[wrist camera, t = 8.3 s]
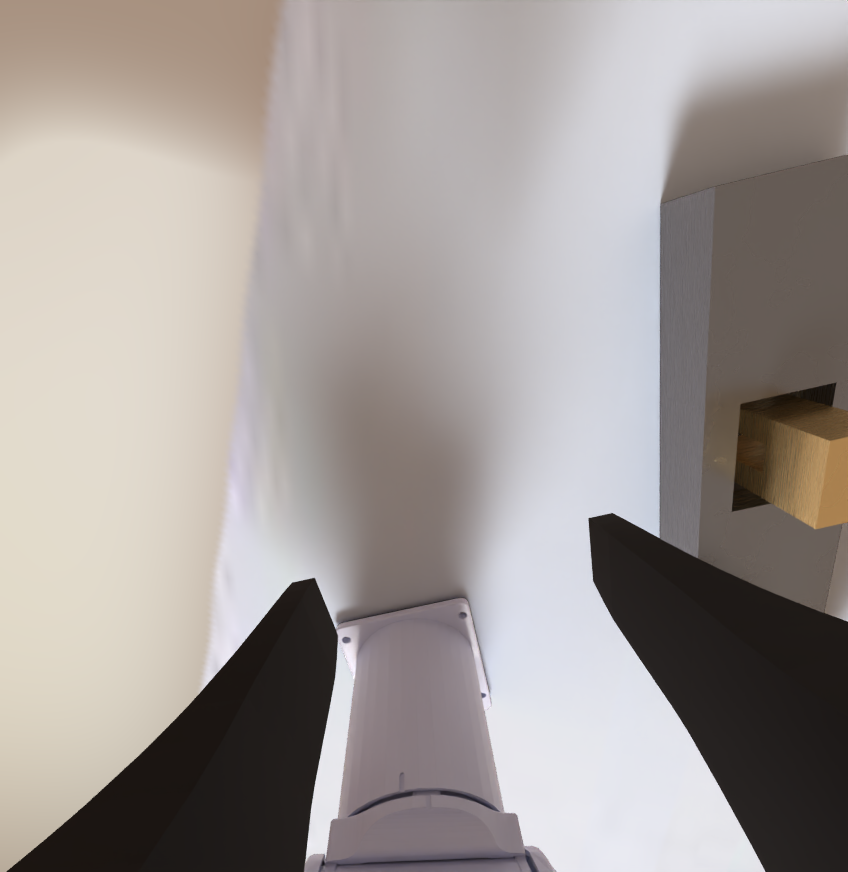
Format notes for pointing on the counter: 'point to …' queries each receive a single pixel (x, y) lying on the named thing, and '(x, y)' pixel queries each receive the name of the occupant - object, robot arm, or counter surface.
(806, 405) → the tan wooden block
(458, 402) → the counter surface
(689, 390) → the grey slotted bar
